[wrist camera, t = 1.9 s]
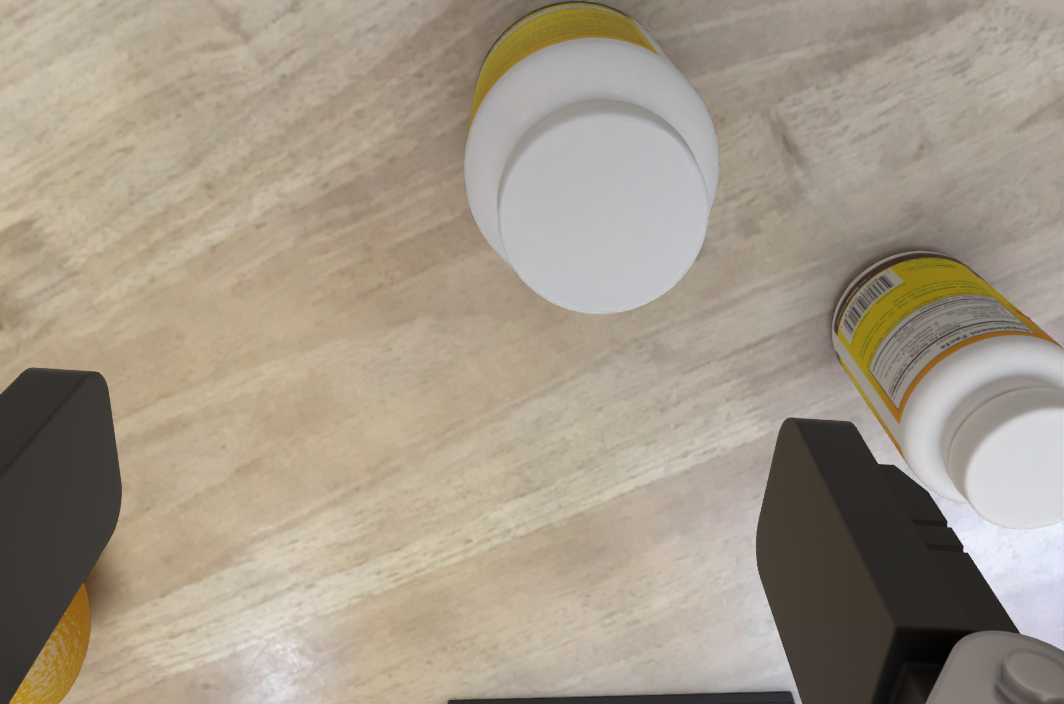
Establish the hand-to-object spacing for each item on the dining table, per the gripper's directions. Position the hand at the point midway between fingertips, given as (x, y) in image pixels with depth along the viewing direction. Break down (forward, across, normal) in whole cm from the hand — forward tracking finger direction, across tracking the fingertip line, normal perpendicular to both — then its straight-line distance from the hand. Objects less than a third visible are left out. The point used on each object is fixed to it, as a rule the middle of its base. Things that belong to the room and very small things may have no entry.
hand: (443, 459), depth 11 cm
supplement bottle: (+22, -15, +7) cm, 28 cm away
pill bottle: (+22, -3, 0) cm, 22 cm away
